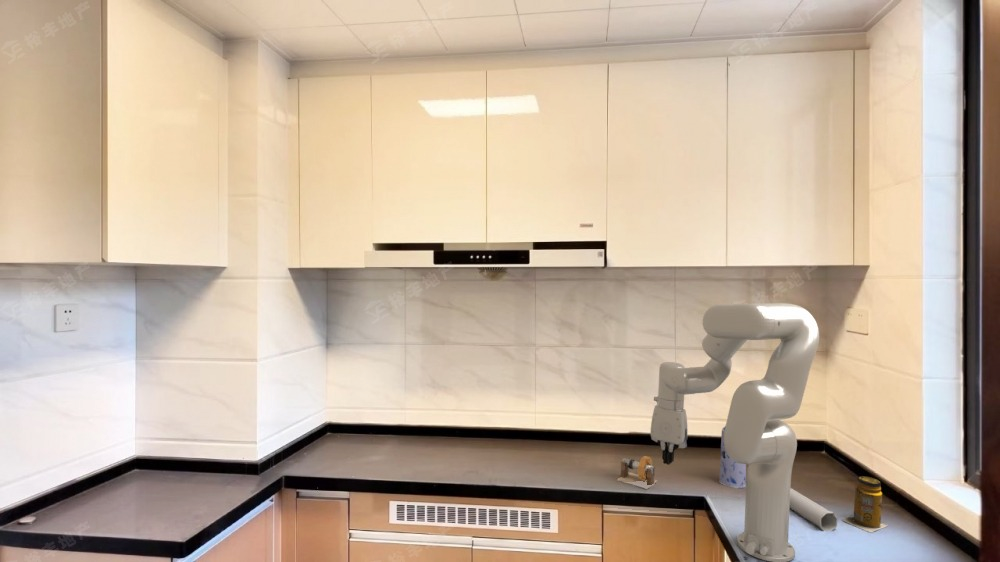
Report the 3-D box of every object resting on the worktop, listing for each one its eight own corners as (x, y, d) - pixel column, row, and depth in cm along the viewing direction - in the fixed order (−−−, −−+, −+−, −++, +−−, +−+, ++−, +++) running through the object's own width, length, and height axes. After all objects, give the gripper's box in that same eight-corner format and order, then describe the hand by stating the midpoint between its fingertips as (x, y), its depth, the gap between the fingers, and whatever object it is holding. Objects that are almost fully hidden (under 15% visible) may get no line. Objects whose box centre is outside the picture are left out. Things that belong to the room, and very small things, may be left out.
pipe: (650, 476, 162) (650, 466, 162) (621, 467, 168) (621, 458, 168) (654, 473, 164) (655, 464, 164) (625, 465, 171) (625, 456, 171)
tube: (757, 478, 162) (817, 516, 137) (772, 472, 162) (835, 509, 138) (761, 494, 162) (822, 535, 137) (777, 488, 163) (840, 527, 138)
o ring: (643, 482, 162) (643, 461, 161) (637, 480, 163) (638, 459, 163) (652, 476, 167) (652, 455, 167) (646, 474, 168) (647, 454, 168)
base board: (646, 490, 160) (647, 472, 160) (617, 480, 167) (617, 463, 166) (657, 482, 166) (658, 465, 166) (628, 473, 173) (629, 457, 173)
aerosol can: (716, 477, 171) (718, 416, 171) (742, 479, 170) (744, 418, 170) (722, 487, 164) (724, 423, 163) (749, 489, 162) (751, 425, 162)
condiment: (887, 526, 141) (889, 482, 141) (871, 533, 137) (873, 488, 137) (858, 514, 147) (860, 472, 147) (841, 521, 143) (843, 477, 143)
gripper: (642, 401, 161) (639, 459, 162) (690, 411, 152) (687, 473, 153) (652, 396, 167) (649, 453, 168) (699, 406, 157) (696, 466, 158)
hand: (667, 462), depth 160 cm, fingers closed
